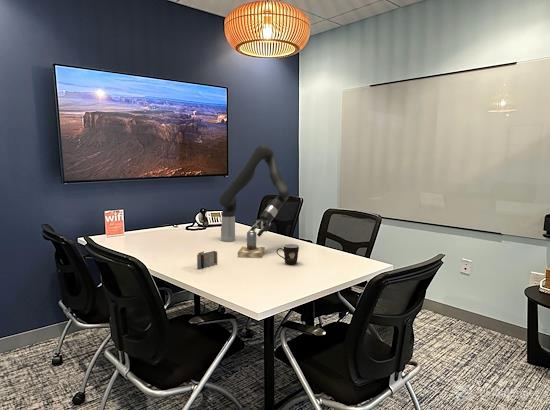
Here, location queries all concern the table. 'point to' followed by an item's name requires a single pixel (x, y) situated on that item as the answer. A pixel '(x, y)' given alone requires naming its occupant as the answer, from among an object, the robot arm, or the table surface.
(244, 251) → the stand
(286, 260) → the coffee mug
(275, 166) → the robot arm
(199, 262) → the grey rusty box
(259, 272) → the table surface
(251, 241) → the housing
